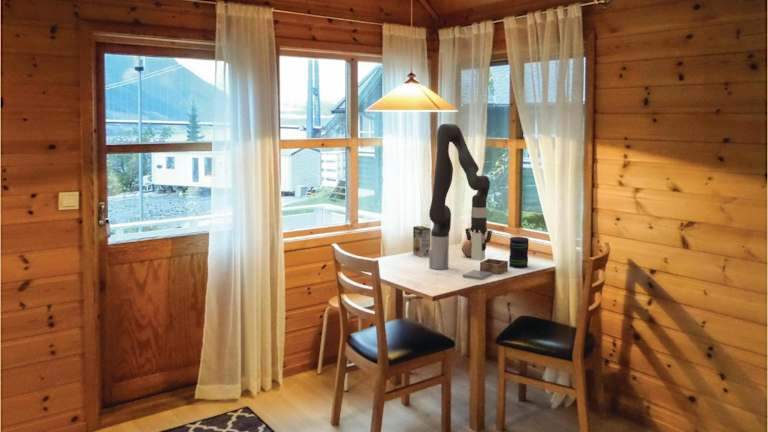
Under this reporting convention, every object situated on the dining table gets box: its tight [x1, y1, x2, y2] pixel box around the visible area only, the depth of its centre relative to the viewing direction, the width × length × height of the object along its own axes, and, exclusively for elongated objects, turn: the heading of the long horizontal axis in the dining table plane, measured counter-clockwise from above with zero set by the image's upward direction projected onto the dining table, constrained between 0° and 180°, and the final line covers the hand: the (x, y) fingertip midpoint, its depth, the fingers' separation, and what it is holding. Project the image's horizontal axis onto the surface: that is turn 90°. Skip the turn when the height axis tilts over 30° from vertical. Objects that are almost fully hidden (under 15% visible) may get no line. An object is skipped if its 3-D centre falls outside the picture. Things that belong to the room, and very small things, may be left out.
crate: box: [479, 258, 509, 275], centre depth 340 cm, size 11×11×5 cm
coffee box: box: [412, 225, 431, 258], centre depth 378 cm, size 9×6×16 cm
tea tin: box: [470, 231, 487, 262], centre depth 328 cm, size 5×5×14 cm
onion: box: [461, 240, 472, 258], centre depth 375 cm, size 10×9×10 cm
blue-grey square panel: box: [462, 269, 493, 281], centre depth 331 cm, size 10×12×1 cm
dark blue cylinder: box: [508, 236, 530, 269], centre depth 351 cm, size 10×10×15 cm
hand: (478, 249), depth 329 cm, fingers closed on tea tin, 5 cm apart
